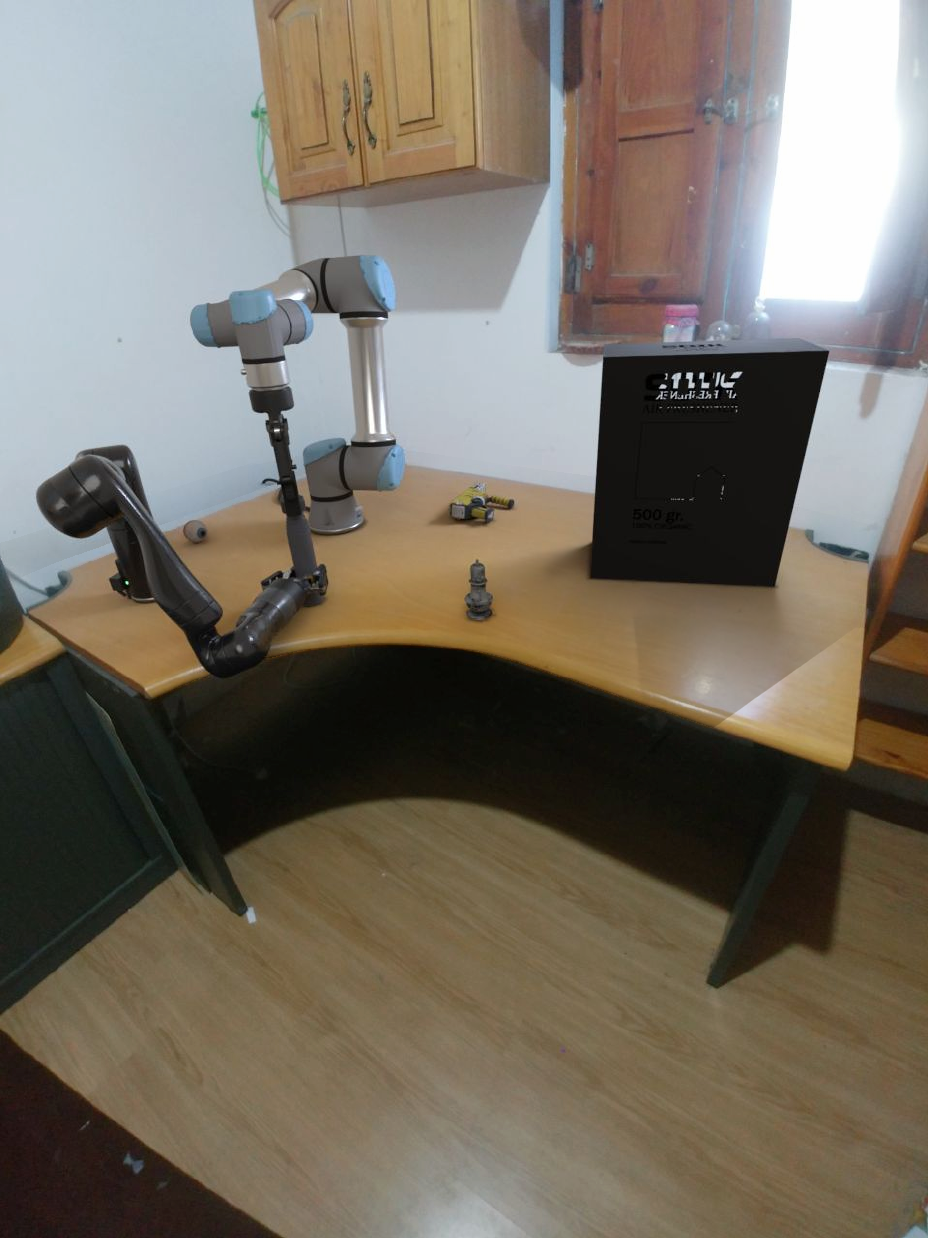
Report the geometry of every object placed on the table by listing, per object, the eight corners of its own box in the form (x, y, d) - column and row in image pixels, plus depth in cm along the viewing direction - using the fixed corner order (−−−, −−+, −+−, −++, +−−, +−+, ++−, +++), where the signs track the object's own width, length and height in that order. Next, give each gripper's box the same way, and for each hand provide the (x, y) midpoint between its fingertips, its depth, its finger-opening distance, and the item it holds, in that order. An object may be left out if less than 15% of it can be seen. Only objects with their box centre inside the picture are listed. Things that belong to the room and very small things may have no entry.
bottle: (327, 601, 130) (308, 502, 119) (306, 608, 128) (285, 507, 116) (317, 593, 133) (298, 496, 122) (297, 600, 131) (276, 502, 120)
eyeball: (196, 547, 160) (190, 526, 157) (181, 543, 163) (175, 522, 160) (215, 539, 164) (209, 518, 161) (200, 536, 167) (194, 515, 164)
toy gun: (522, 487, 180) (475, 480, 184) (500, 511, 160) (447, 502, 164) (521, 502, 182) (474, 495, 186) (499, 527, 162) (447, 519, 166)
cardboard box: (755, 547, 142) (798, 337, 120) (774, 586, 125) (829, 350, 102) (592, 542, 150) (603, 344, 127) (589, 578, 133) (603, 356, 110)
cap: (289, 516, 117) (286, 504, 116) (278, 510, 120) (275, 499, 119) (310, 509, 120) (307, 498, 119) (299, 504, 123) (296, 493, 122)
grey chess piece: (491, 621, 118) (489, 566, 112) (462, 620, 120) (458, 565, 114) (496, 607, 123) (494, 553, 117) (468, 605, 124) (465, 552, 118)
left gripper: (308, 589, 112) (340, 552, 126) (237, 586, 114) (277, 550, 129) (315, 624, 116) (345, 584, 130) (247, 620, 118) (284, 581, 133)
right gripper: (249, 381, 116) (274, 496, 128) (245, 398, 99) (274, 528, 111) (289, 377, 118) (310, 491, 129) (291, 393, 101) (315, 523, 112)
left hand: (311, 567), depth 129 cm, fingers closed on bottle, 4 cm apart
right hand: (293, 508), depth 120 cm, fingers open, 7 cm apart
